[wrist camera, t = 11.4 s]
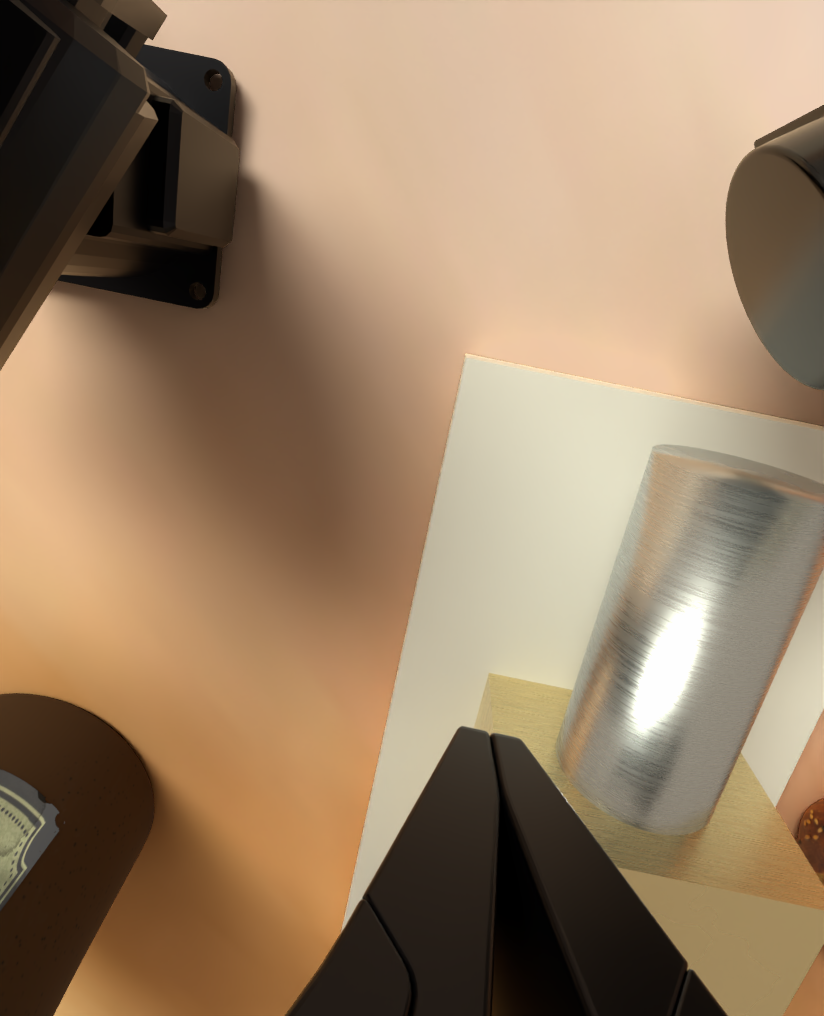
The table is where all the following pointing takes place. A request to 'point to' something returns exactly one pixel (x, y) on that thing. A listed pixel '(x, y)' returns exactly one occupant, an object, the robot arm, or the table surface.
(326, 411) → the table surface
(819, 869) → the pretzel
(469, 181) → the table surface
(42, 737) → the olive oil
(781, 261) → the pneumatic valve
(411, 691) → the mount board
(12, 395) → the table surface
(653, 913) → the valve body
